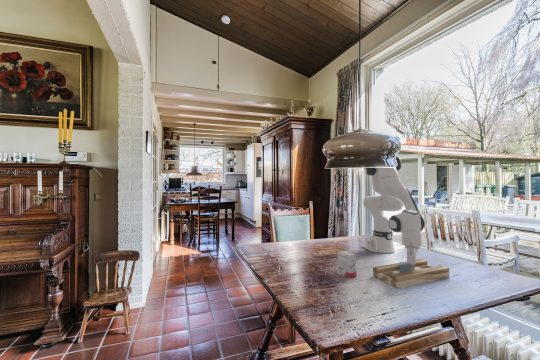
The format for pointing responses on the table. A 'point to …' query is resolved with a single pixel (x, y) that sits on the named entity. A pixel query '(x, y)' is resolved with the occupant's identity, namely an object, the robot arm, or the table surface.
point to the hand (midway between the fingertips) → (412, 268)
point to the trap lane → (410, 282)
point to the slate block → (404, 267)
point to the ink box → (346, 264)
